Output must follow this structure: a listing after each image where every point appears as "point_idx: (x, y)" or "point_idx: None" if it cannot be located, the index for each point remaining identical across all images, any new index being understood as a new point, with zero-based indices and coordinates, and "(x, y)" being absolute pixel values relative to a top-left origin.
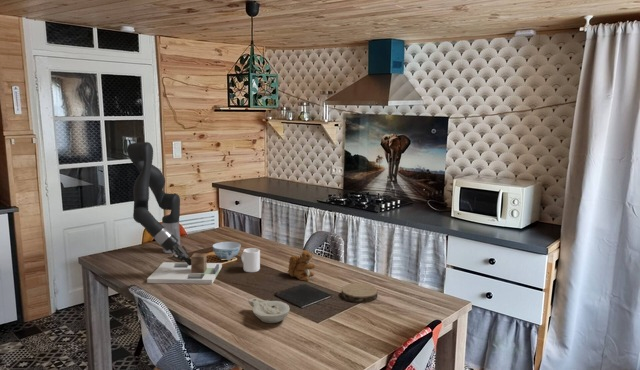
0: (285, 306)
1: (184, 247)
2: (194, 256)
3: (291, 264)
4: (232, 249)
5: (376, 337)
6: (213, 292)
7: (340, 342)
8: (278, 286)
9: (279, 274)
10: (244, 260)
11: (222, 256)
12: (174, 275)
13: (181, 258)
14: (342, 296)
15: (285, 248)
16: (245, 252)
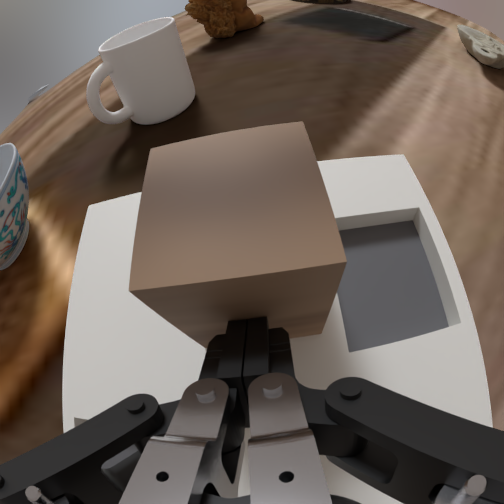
0: (467, 28)
1: (5, 466)
2: (305, 222)
3: (226, 6)
4: (17, 153)
5: (435, 10)
6: (471, 148)
7: None
8: (320, 38)
9: (215, 51)
10: (164, 72)
11: (19, 225)
12: None
13: (366, 441)
14: (333, 2)
15: (4, 134)
16: (159, 31)
